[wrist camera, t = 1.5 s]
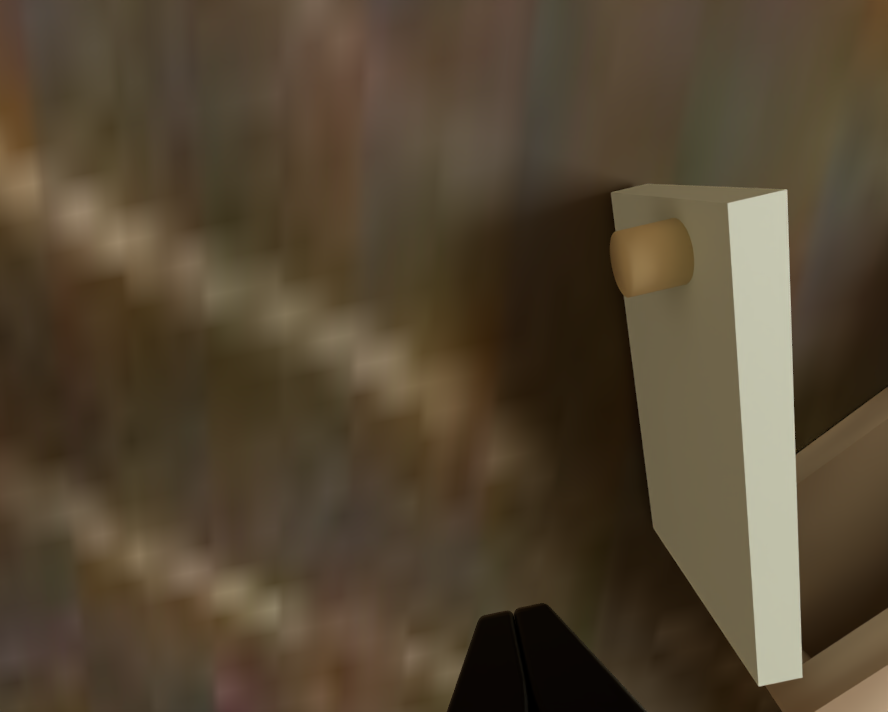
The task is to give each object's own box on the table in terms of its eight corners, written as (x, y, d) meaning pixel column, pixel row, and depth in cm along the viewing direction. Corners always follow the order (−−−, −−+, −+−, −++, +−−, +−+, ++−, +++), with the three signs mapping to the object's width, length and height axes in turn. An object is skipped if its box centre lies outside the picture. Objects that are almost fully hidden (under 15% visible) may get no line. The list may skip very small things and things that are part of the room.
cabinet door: (647, 183, 15) (786, 189, 9) (683, 521, 18) (802, 677, 13) (566, 202, 15) (656, 219, 9) (616, 535, 18) (705, 697, 13)
